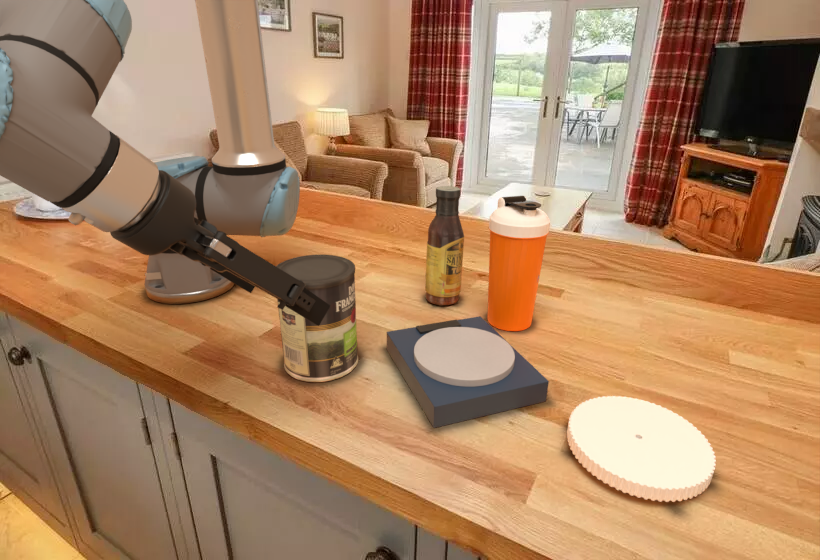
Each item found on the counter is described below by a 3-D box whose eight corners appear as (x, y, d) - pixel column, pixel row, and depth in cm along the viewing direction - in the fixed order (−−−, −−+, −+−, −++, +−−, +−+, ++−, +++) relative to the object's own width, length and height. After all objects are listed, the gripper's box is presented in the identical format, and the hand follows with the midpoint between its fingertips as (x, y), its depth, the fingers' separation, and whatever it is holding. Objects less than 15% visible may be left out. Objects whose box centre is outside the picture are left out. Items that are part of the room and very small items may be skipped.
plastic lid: (735, 467, 51) (742, 448, 50) (661, 535, 43) (668, 514, 42) (614, 399, 61) (618, 382, 60) (538, 443, 54) (541, 425, 53)
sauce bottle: (449, 310, 83) (455, 194, 75) (418, 301, 86) (420, 189, 78) (466, 296, 88) (473, 187, 80) (436, 289, 91) (440, 182, 83)
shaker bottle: (504, 339, 74) (516, 210, 66) (470, 315, 82) (478, 196, 74) (549, 327, 78) (566, 203, 70) (513, 304, 85) (525, 191, 77)
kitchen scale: (386, 349, 71) (386, 325, 70) (479, 333, 76) (480, 310, 74) (433, 428, 56) (434, 399, 54) (546, 401, 60) (550, 374, 59)
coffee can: (367, 346, 72) (364, 256, 66) (344, 387, 63) (339, 287, 57) (301, 339, 74) (293, 250, 68) (270, 377, 65) (258, 279, 59)
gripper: (60, 210, 51) (216, 296, 67) (176, 270, 36) (339, 361, 52) (104, 152, 52) (246, 249, 69) (232, 186, 37) (373, 300, 54)
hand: (286, 298), depth 61 cm, fingers open, 13 cm apart
